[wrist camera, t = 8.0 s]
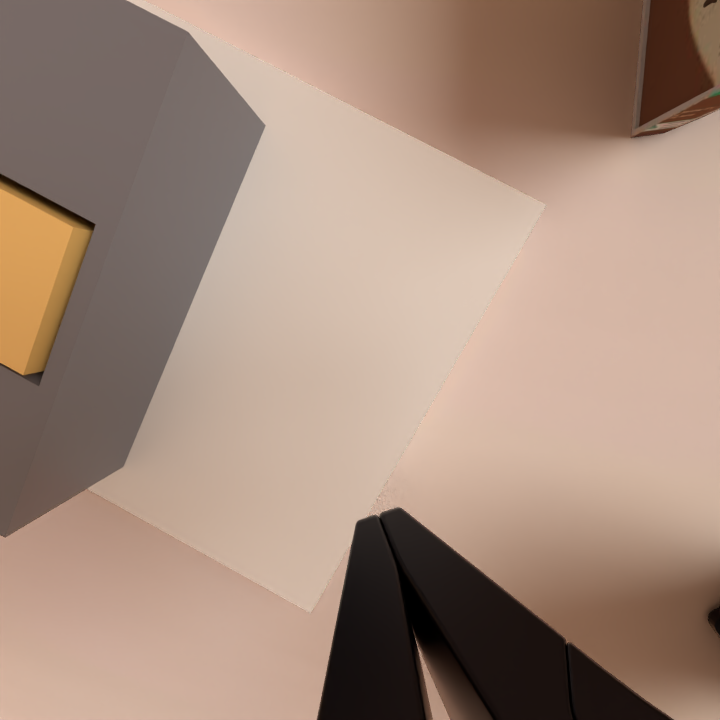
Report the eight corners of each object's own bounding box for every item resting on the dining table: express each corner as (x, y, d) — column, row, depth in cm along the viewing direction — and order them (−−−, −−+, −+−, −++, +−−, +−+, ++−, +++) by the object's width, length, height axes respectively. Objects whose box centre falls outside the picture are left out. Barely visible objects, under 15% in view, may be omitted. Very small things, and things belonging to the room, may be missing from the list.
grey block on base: (533, 213, 16) (629, 150, 9) (317, 590, 20) (270, 745, 13) (136, 10, 17) (-56, -193, 10) (1, 414, 20) (-205, 474, 14)
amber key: (145, 242, 14) (73, 227, 11) (101, 359, 14) (23, 375, 12) (30, 181, 14) (-73, 150, 11) (-7, 300, 15) (-111, 301, 12)
